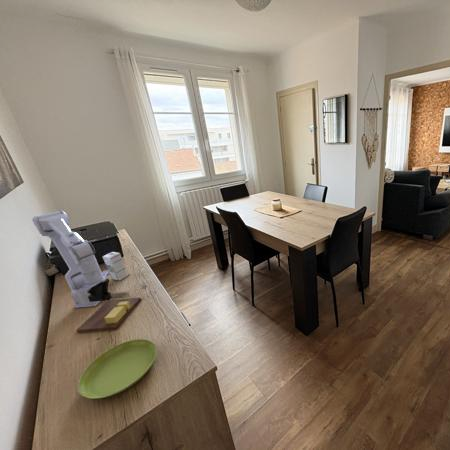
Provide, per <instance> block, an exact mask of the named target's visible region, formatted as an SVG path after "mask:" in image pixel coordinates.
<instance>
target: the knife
mask: <svg viewBox="0 0 450 450" xmlns="http://www.w3.org/2000/svg"><path fill="white" fill-rule="evenodd" d="M102 294H103V298H104V300H101V302H106V301H107V300H116V299H128V298H131V295H130V292H129V291H122V292H120V291H119V292H110V291H108V292H106V293H102ZM88 299H89V301H90V302H94V301H98V300H97V299H96V298H95V297H94V296H92V295H89V296H88Z"/></svg>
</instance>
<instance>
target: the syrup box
mask: <svg viewBox="0 0 450 450" xmlns="http://www.w3.org/2000/svg"><path fill="white" fill-rule="evenodd" d="M102 259H103V261H104V264H105V266H106V268H107V270H109V271H110V273H111V274H110V275H109V276H110V278H111V280H115V281H121V280H124V279H125V278H127V277H128V276H129V272H128V270H127V268H126V265H125V262H124V261H123V258H122V255H121V253H120V252H116V251H110V252H108V253H106V254H105V255H103V256H102Z"/></svg>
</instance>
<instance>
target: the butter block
mask: <svg viewBox="0 0 450 450" xmlns="http://www.w3.org/2000/svg"><path fill="white" fill-rule="evenodd" d="M125 313H126V310H125V307H115V308H114V309H113V310H112V311H111V312H110V313H109V314H108V315H107V316H106V317H105V321H106V323H107V324H110V323H117V322H118V321H119V320H120V319H121V318H122V317H123V315H124V314H125Z"/></svg>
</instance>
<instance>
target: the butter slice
mask: <svg viewBox="0 0 450 450" xmlns="http://www.w3.org/2000/svg"><path fill="white" fill-rule="evenodd" d="M117 306H118V307H125V310H129V309H130V307H131V305H130V303H129V301H126V302H119V303H118V304H117Z"/></svg>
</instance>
